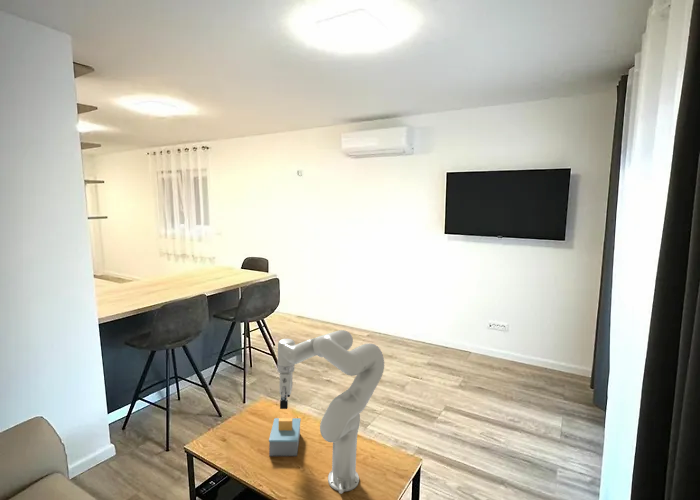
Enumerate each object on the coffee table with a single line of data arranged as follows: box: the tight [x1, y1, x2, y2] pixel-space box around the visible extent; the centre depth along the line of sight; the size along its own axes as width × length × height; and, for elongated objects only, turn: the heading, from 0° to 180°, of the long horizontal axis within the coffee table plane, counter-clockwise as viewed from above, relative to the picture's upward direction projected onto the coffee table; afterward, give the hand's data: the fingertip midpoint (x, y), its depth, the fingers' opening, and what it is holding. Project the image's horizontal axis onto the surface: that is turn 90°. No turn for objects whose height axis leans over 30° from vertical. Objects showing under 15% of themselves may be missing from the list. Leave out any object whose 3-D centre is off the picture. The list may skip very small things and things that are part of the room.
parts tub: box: [268, 427, 301, 457], centre depth 173 cm, size 16×12×7 cm
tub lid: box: [268, 417, 302, 442], centre depth 172 cm, size 16×12×6 cm
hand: (285, 402), depth 171 cm, fingers open, 9 cm apart
